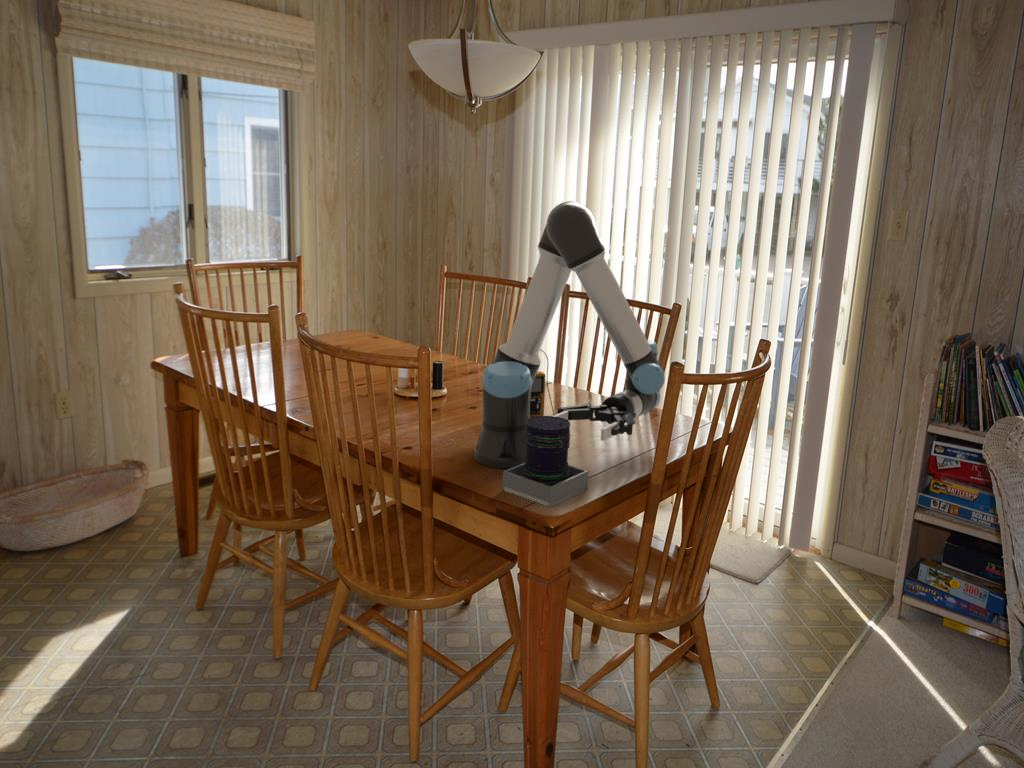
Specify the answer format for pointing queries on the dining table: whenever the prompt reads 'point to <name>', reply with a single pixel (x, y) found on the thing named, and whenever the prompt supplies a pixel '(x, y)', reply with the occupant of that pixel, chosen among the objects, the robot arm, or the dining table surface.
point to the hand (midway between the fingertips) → (576, 428)
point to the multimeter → (538, 394)
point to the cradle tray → (545, 486)
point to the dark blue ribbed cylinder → (547, 449)
